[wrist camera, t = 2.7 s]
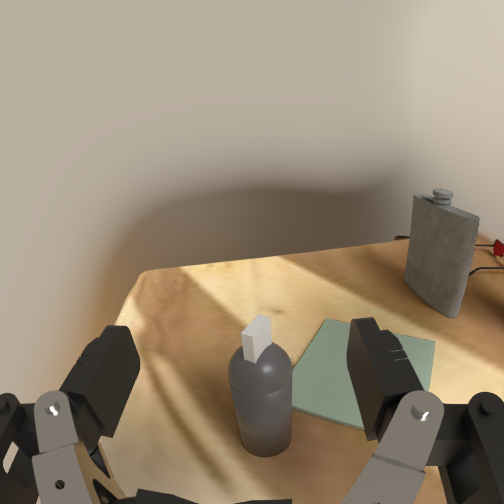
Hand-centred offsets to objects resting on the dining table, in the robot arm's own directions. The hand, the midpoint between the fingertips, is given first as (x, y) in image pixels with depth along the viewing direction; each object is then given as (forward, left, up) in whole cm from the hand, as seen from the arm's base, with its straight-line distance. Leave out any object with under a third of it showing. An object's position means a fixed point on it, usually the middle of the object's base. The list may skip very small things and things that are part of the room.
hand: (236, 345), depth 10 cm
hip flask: (-46, +9, -23) cm, 52 cm away
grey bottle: (-9, -5, -23) cm, 25 cm away
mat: (-23, +2, -23) cm, 32 cm away
